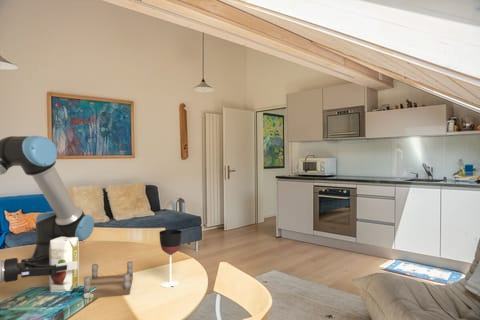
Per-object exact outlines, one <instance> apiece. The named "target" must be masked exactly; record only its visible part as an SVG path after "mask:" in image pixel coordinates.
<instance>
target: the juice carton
mask: <svg viewBox="0 0 480 320" xmlns="http://www.w3.org/2000/svg"><path fill="white" fill-rule="evenodd" d="M79 243H80V242H79V241H78V237H70V238H69V237H58V238H55V239H53V240H50V251H49V265H56V264H60V263H66V262H72V261H77V269H74V270H68V271H62V272H56V275H55V276H53V275H50V276H49V277H48V279H49V292H50V291H69V290H71V289H73V288H74V287H77V286H78V287H79V283H80V282H79V281H80V280H79V278H80V277H79V276H80V271H79V270H80V268H79V267H80V264H79V263H80V260H79V259H80V247H79V246H80V245H79ZM78 287H77V288H78Z"/></svg>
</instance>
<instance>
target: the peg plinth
mask: <svg viewBox="0 0 480 320" xmlns="http://www.w3.org/2000/svg"><path fill="white" fill-rule="evenodd" d="M133 264H134V263H133V261H131V260H129V261H127V264H126V265H127V270H126V273H123V274H111V275H110V274H109V275H99V276H98V274H99V273H98V269H99V267H98V266H99V263H94V264H92V265H91V276H90V275H89V276H85V277H84V278H83V284H84V285H83V295H84V294H85V293H89V292H90V289H93V288H94V287H97V289H96V290H94V291H92V292H90V293H91V294H93V295H94V297H95V298H94V299H98V298H100V299H101V298H108V297H109V298H111V297H119V296H129V295H130V294H131V290H132V289H131V288H132V284H133V279H134V274H133V269H134V268H133Z"/></svg>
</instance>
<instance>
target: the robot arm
mask: <svg viewBox="0 0 480 320" xmlns="http://www.w3.org/2000/svg"><path fill="white" fill-rule="evenodd" d="M57 153H58V149H57V146H56V145H55V143H54V142H53V141H52V140H51V139H50V138H48V137H46V136H39V135H30V136H29V135H28V136H27V135H26V136H22V135H21V136H19V135H18V136H16V135H15V136H14V135H11V136H7V137H3V138H1V139H0V176H1V175H5V174H6V173H7V171H8V170H9V169H11V168H12V167H14V166H15V167H16V166H18V167H21V169H22V170H23V172H24V173H25V175H26V176H28V177H29V176H31V177H32V179H34V181H35V183H36V184H37V186H38V188H39V190H40V191H41V193H42V195H43V197H44V198H45V199H46V201H47V202H48V204H49V206H50V208H51V210H52V211H46V212H41V213H39V214H37V215H36V219H35V248H34V251H33V254H32V257H29V258H25V259H24V258H22V259H21V260H20V262H19V261H18V260H19V259H18V257H12V258H6V259H4V260H2V259H0V284H2V283H3V281H4V283H9V282H15V281H17V280H18V279H19V277H18V276H19V275H21V276H20V277H21V278H22V279H23V278H27V277H30V278H31V277H46V276H50V275H53V276H55V275H56V272H62V271H68V270H74V269H77V261H72V262H66V263H60V264H56V265H49V251H50V240H53V239H55V238H58V237H69V238H70V237H78V242H79V241H86V240H87V239H89V238H90V236H91V235H92V233H93V231H94V227H95V220H94V218H93V217H94V216H92V215H90V214H85V212H84V211H83V209H82V208H81V207H80V206H77V205H76V204H75V202H74V200H73V198H72V196H71V195H70V193H69V191H68V188H67V186H66V185H65V183H64V182H63V180H62V178H61V176H60V174H59V173H58V171H57V169H56V167H55V165H56V163H57V161H56V160H57V157H58V155H57Z"/></svg>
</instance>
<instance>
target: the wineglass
mask: <svg viewBox="0 0 480 320" xmlns="http://www.w3.org/2000/svg"><path fill="white" fill-rule="evenodd" d="M181 242H182V231H181V230H179V229H165V230H160V231H159V243H160V248H161V250H162V251H163V252H164V253H166V254H167V255H169V280H168V279H167V280H168V281H167V280H164V281H162V282H161V283H160V286H161V287H163V288H172V287H171V286H175V285H178V283H179V282H180V281H179V280H177V281H175V279H172V255H174V254H175V253H177V252H178V251H179V249H180V247H181V244H182V243H181ZM178 281H179V282H178ZM178 286H179V285H178ZM175 287H176V286H175Z"/></svg>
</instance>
